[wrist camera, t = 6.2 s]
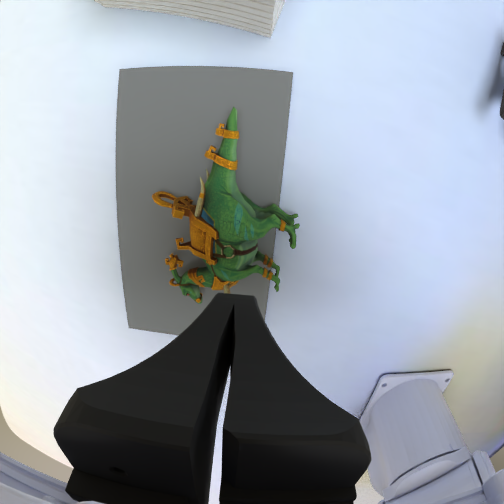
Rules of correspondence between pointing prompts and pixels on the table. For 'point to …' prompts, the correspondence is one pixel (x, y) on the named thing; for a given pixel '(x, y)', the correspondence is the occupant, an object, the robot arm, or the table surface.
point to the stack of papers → (214, 11)
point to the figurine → (224, 225)
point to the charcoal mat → (189, 175)
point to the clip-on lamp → (503, 104)
